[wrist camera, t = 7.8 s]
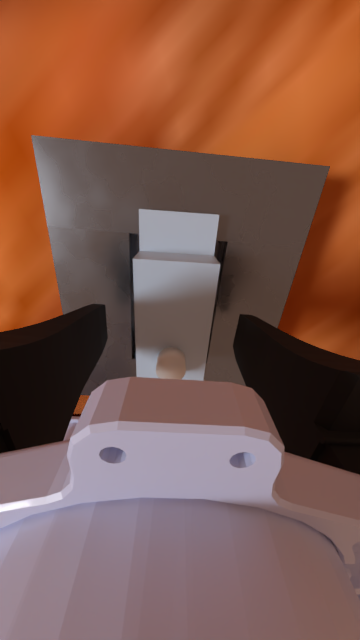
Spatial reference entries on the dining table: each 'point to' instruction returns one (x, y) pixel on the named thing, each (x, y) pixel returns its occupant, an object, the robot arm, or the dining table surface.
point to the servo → (174, 293)
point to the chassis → (181, 196)
